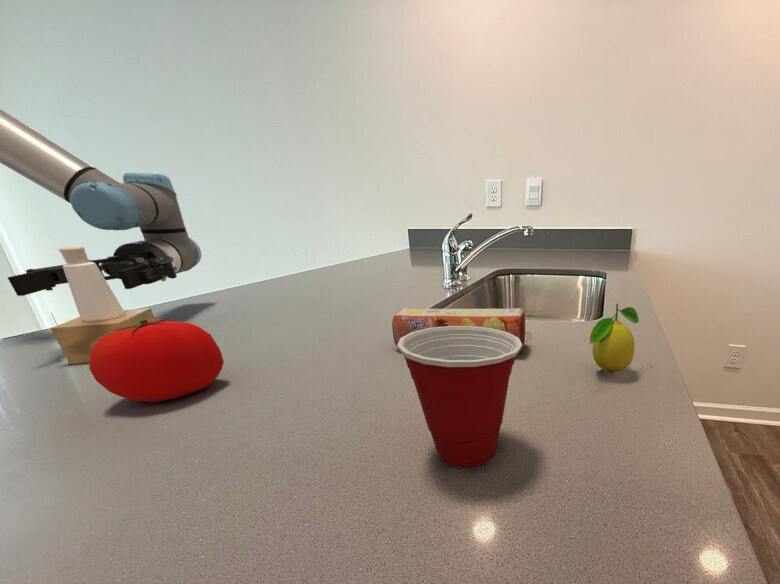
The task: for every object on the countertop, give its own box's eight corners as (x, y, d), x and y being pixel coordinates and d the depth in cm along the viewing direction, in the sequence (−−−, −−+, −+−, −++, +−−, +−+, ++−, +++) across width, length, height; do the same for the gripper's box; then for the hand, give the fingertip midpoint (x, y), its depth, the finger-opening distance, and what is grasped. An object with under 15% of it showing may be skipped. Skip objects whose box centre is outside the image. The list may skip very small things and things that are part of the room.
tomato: (235, 393, 54) (208, 317, 49) (106, 425, 47) (61, 341, 42) (226, 367, 62) (202, 300, 57) (116, 391, 55) (79, 317, 50)
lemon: (633, 365, 59) (641, 297, 55) (638, 383, 54) (648, 309, 49) (586, 364, 60) (591, 296, 55) (587, 381, 55) (592, 308, 50)
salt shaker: (71, 321, 64) (34, 249, 60) (107, 312, 69) (75, 244, 64) (100, 322, 64) (65, 249, 59) (134, 313, 68) (104, 244, 64)
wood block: (69, 364, 64) (50, 328, 61) (105, 345, 72) (89, 312, 69) (136, 358, 66) (119, 322, 63) (164, 340, 74) (150, 308, 71)
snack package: (392, 352, 66) (385, 311, 63) (409, 339, 72) (403, 301, 69) (521, 359, 62) (521, 316, 59) (528, 344, 68) (527, 304, 65)
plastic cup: (546, 451, 40) (548, 336, 35) (455, 503, 34) (441, 372, 29) (479, 412, 48) (473, 312, 42) (395, 449, 41) (375, 336, 36)
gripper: (225, 276, 84) (176, 301, 65) (81, 285, 78) (-18, 314, 60) (213, 238, 80) (157, 252, 62) (61, 244, 75) (-50, 262, 57)
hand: (71, 283), depth 61 cm, fingers open, 13 cm apart
